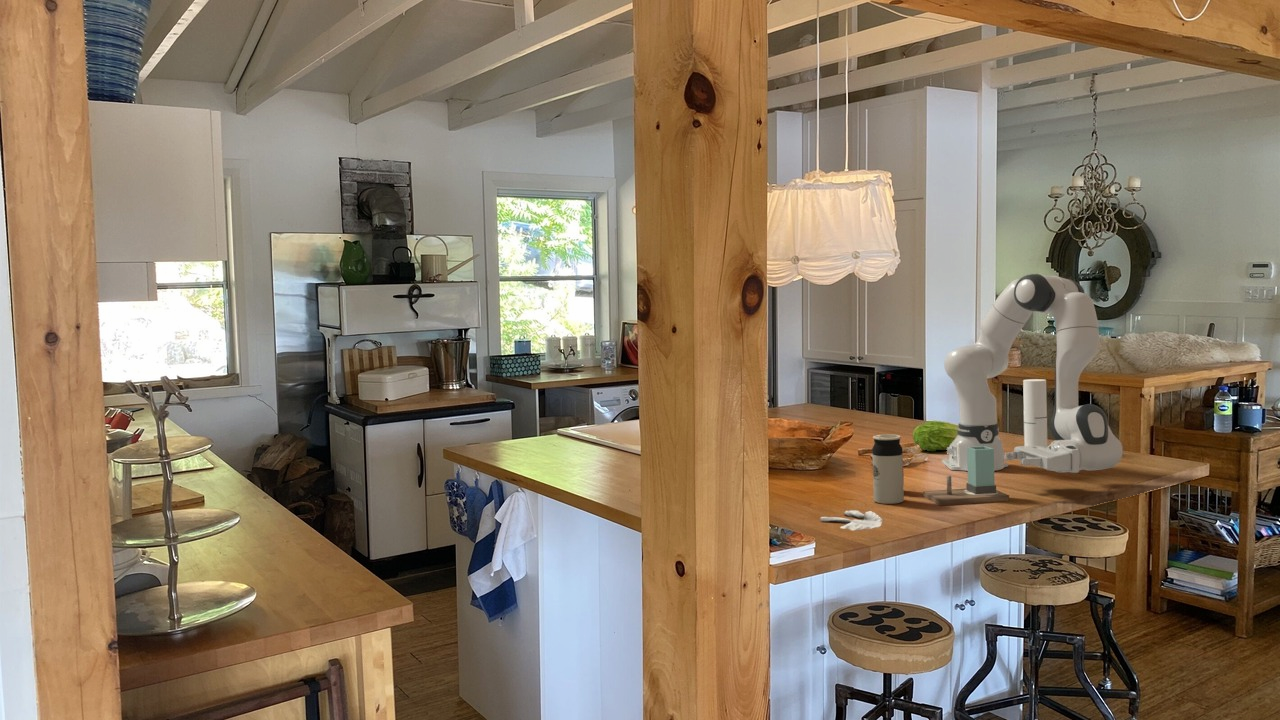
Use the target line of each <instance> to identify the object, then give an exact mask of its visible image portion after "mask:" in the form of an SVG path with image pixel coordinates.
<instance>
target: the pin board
mask: <svg viewBox="0 0 1280 720" xmlns="http://www.w3.org/2000/svg"><path fill="white" fill-rule="evenodd" d="M952 488H953V487H952V476H951V475H946V489H941V490H940V489H939V490H938V489H937V490H924V491H923V498H926V499H928V500H929V501H931V502H933V503H934V504H936V505H939V506H954V505H956V506H957V505H968V504H969V505H971V503H972V504H984V503H997V502H1010V495H1009V494H1007V493H1004V492H1002V491H999V490H997V489H996V493H988V494H974V493H972V492H969V491H967V487H965V488H954V489H952Z"/></svg>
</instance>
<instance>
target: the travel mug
mask: <svg viewBox="0 0 1280 720" xmlns="http://www.w3.org/2000/svg"><path fill="white" fill-rule="evenodd" d="M872 439H873V440H874V444H873V446H872V449H871V450H872V453H871V454H872V457H871V458H872V482H873V485H872V486H873V487H872V490H873V501H874V502H875V503H877V504H882V505H896V504H901V503H902V502H904V501H905V500H904V497H905V496H904V486H903V474H904V457H903V446H901V443H900V442H901V439H902V436H901V435H900V434H899V435H898V434H876V435H873V436H872Z"/></svg>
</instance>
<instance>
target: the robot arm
mask: <svg viewBox="0 0 1280 720" xmlns="http://www.w3.org/2000/svg"><path fill="white" fill-rule="evenodd" d="M1034 312H1037V313H1040V314H1046V315H1047V314H1048V315H1049V314H1051V315H1052V317H1053V319H1054V322H1055V333H1056V334H1055V336H1056V358H1055V368H1054V407H1053V413H1052V415H1051V418H1050V422H1049V429H1050V433H1051V435H1052V437H1053V438H1054V439H1055V440H1053V441H1051V443H1050V444H1049V445H1047V448H1045V447H1042V446H1025V445H1022V446H1021V445H1018V446H1015V447H1014V449H1013V451H1011V452H1005V453H1004V443H1003V440H1002V439H1000V437H999V434H1000V432H999V431H1000V427H999V423H998V417H997V416H998V415H997V412H998V411H997V398H996V396H995V395H993V393H992V392H991V389H990V387H989V384H988V379H991V378H992V379H993V378H995V377H997V376H999V375H1000V374H1003V373H1004V372H1005V371H1006V370H1007V369H1008V367H1009V362H1010V358H1009V353H1010V350H1011V348H1012V345H1013V343H1014V342H1015V340H1016V338H1017V337H1018V335H1019V334H1020V332H1021V331H1022V329H1023V328H1024V327H1025V325H1026V323H1027V322H1028V321H1029V319H1030V317H1031V315H1032V314H1033V313H1034ZM980 330H981V331H980V335H979V337H978V340H976V342H975V343H973V344H972V345H966V346H965V345H964V346H959V347H957V348H955V349H954V350H952V351H950V352H949V353H948V354H947V355H946V356H945V359H944V363H943V364H944V371H945V373H946V375H947V376H948V377H949V378H950V379H951V380H952V382H953V385H954V387H955V390H956V393H957V398H958V407H959V423H958V424H957V425H958V432H957V434H958V436H957V437H956V438H955V440H954V441H953V442H952V443H951V444H950V446H949V447H947V451H946V454H947V455H948V457H946V458H943V459H941V463H942V464H943V465H944V466H946V467H947V468H948V469H949V470H952V471H965V472H966V471H967V472H968V466H967V447H978V446H987V447H990V448H993V449H994V472H995V471H1000V470H1003V469H1004V468H1007V467H1009V463H1008V462H1006V460H1007V461H1009V460H1013V461H1014V460H1017V461H1019V462H1020V465H1022V466H1031V467H1032V466H1034V467H1038V468H1041V469H1044V470H1047V471H1050V472H1051V471H1053V472H1056V473H1057V474H1058V473H1072V474H1077V473H1079V472H1080V471H1082V470H1085V471H1099V470H1106V469H1111V468H1114V467H1116V466H1117V465H1118V464H1119V463H1120V462H1121V461H1122V457H1123V453H1124V452H1123V451H1124V450H1123V449H1124V448H1123V444H1122V443H1121V441H1120V440H1119V439H1118V438H1117V437H1116V436H1115V435H1114V434H1113V431H1112V429H1111V427H1110V426H1109V421H1108V416H1107V413H1106V412H1105V411H1104V409H1102V408H1101V407H1099V405H1095V404H1092V403H1087V404H1083V405H1079V382H1080V376H1081V374H1082V373H1083V371H1084V370H1085V368H1086V367H1087V366H1088V364H1089V363H1090V362H1091V361H1092V360H1093V359H1095V357H1096V356H1097V354H1098V352H1099V348H1100V330H1099V321H1098V316H1097V312H1096V307H1095V304H1094V302H1093V299H1092V298H1091V296H1090V295H1089V294H1086V293H1085V289H1084V287H1083V286H1082V285H1081V284H1080V283H1079V282H1077V281H1075V280H1073V279H1070V278H1064V277H1061V276H1058V275H1047V274H1046V275H1044V274H1039V273H1031V274H1026V275H1023V276H1022V277H1020V278H1017V279H1016V278H1015V279H1013V280H1011V281H1010V282H1009V283H1008V285H1006V287H1005V288H1004V289H1003V290H1002V292H1000V294H999V295H998V297H996V299H995V301H994V302H993V304H992V305H991V307H990V308H989V310H988V311H987V312H986V315H985V316H984V317H983V319H982V321H981V323H980Z"/></svg>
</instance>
